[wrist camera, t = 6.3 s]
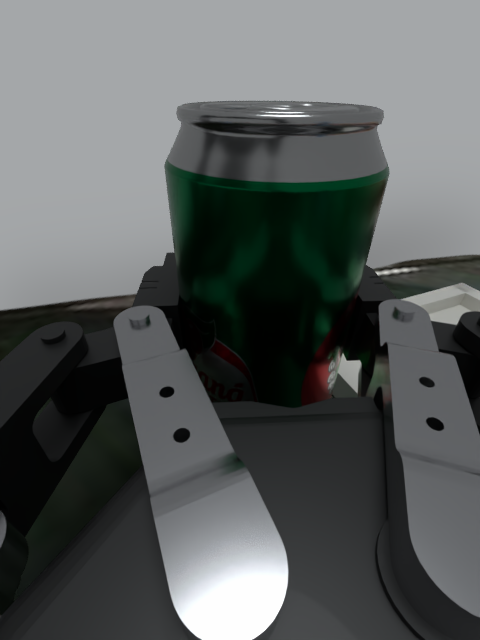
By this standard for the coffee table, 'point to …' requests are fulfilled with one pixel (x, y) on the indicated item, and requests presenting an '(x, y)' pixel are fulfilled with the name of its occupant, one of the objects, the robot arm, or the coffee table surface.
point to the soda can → (272, 241)
